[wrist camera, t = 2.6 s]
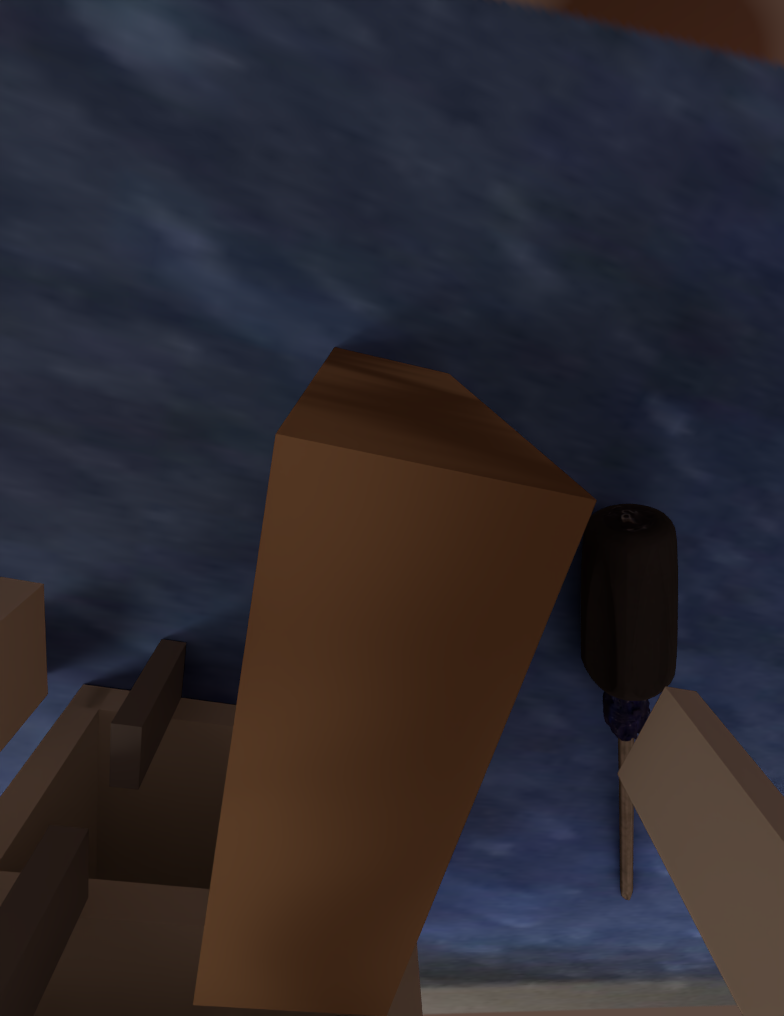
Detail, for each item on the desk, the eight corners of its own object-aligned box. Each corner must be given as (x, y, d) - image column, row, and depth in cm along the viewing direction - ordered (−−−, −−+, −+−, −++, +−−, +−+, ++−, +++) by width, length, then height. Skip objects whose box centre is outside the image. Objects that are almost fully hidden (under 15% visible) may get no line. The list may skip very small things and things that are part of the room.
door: (283, 636, 21) (192, 1005, 10) (334, 347, 17) (275, 433, 6) (402, 655, 22) (440, 1019, 11) (481, 381, 17) (683, 518, 6)
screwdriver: (653, 887, 29) (693, 966, 26) (592, 899, 29) (623, 979, 26) (643, 478, 19) (705, 517, 16) (551, 499, 19) (592, 542, 16)
